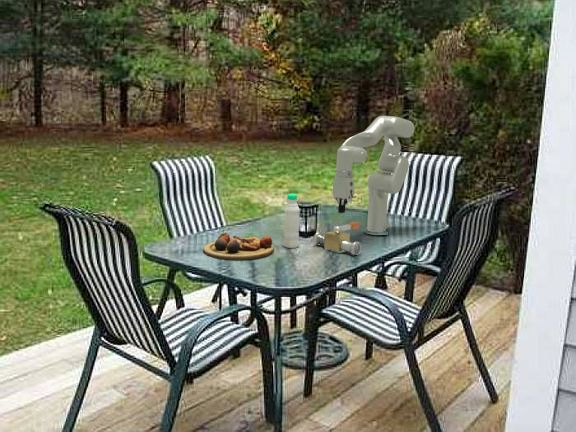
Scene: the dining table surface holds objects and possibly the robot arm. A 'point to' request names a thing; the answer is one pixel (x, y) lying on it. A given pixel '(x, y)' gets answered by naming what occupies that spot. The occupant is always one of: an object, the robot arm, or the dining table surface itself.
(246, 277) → the dining table surface
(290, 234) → the water bottle
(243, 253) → the wooden plate with food
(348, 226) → the valve lever
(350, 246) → the valve pipe
